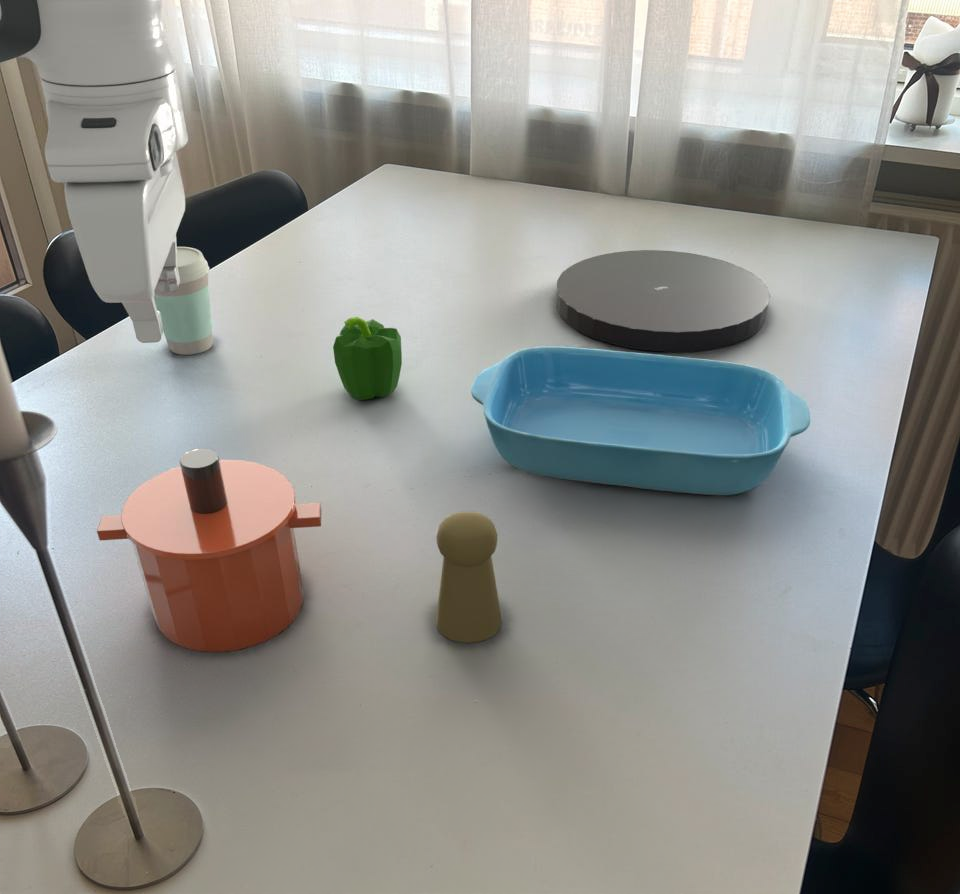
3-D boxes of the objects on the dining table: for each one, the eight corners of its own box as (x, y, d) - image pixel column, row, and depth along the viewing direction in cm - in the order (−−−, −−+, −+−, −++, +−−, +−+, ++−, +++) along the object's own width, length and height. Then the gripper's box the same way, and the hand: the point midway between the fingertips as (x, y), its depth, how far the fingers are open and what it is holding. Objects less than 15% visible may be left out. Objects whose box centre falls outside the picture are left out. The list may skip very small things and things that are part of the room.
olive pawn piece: (514, 615, 92) (516, 515, 85) (478, 651, 88) (476, 550, 81) (460, 592, 94) (457, 493, 87) (422, 627, 91) (416, 527, 83)
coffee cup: (208, 327, 140) (191, 240, 132) (233, 349, 135) (217, 259, 127) (149, 342, 136) (128, 253, 128) (172, 365, 131) (152, 274, 123)
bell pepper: (394, 372, 129) (389, 296, 122) (411, 400, 123) (407, 322, 117) (330, 382, 127) (322, 305, 121) (345, 411, 121) (336, 333, 115)
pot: (331, 644, 89) (317, 548, 82) (113, 659, 88) (81, 563, 81) (332, 554, 99) (320, 462, 92) (137, 567, 98) (110, 474, 91)
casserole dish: (794, 417, 119) (806, 361, 115) (802, 521, 103) (817, 461, 98) (491, 391, 125) (491, 337, 120) (453, 486, 108) (452, 427, 104)
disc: (659, 254, 160) (661, 234, 158) (810, 314, 142) (814, 293, 140) (513, 301, 146) (513, 280, 144) (660, 374, 128) (663, 352, 126)
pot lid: (293, 559, 82) (283, 501, 78) (110, 571, 81) (91, 512, 77) (299, 466, 93) (291, 410, 89) (138, 475, 92) (123, 420, 88)
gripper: (100, 84, 76) (140, 264, 86) (37, 163, 61) (94, 372, 70) (184, 82, 77) (215, 262, 86) (142, 160, 62) (185, 369, 71)
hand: (160, 312), depth 78 cm, fingers open, 8 cm apart
